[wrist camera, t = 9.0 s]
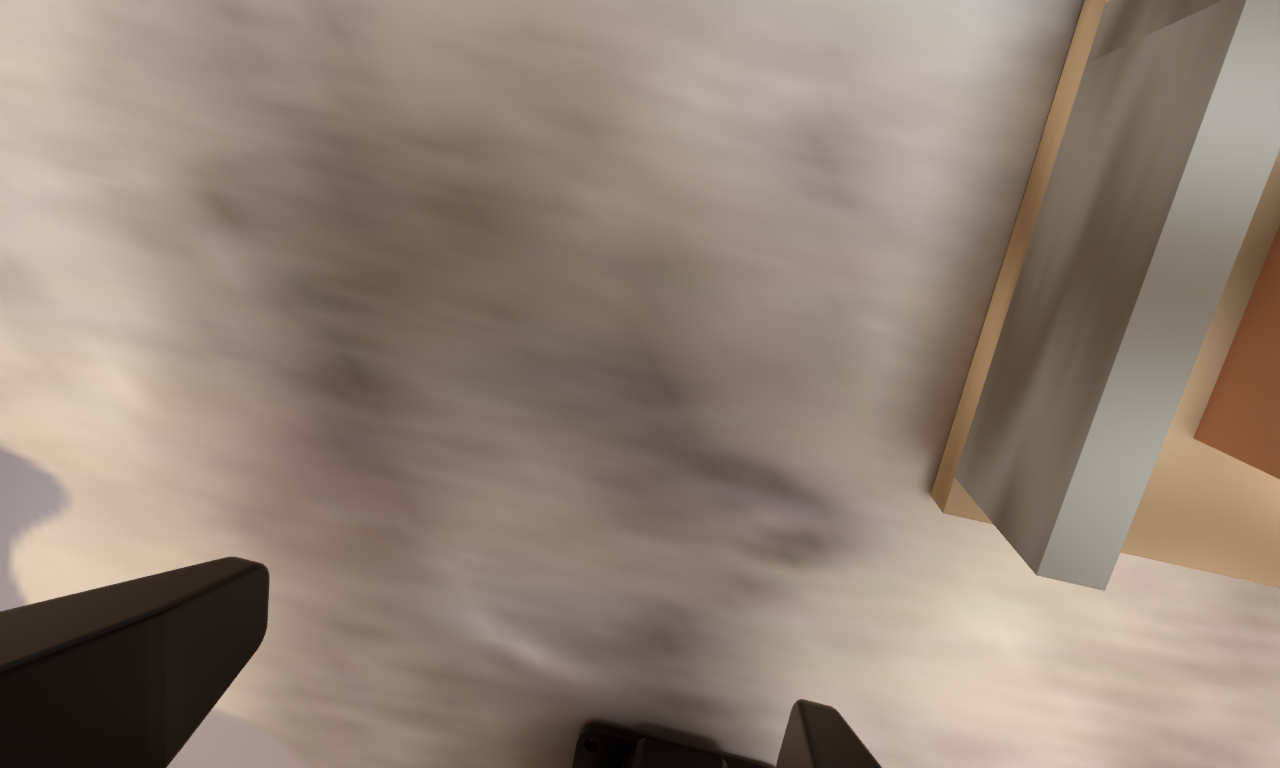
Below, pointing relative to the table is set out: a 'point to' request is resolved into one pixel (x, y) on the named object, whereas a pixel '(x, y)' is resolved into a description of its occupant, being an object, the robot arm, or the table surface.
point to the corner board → (1130, 303)
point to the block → (1251, 380)
